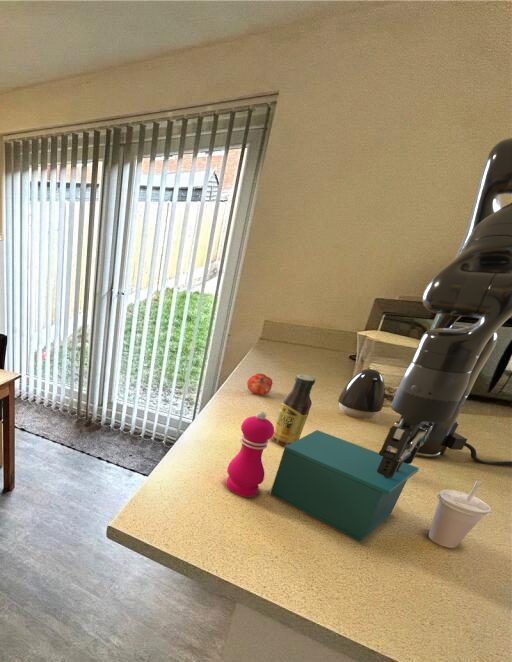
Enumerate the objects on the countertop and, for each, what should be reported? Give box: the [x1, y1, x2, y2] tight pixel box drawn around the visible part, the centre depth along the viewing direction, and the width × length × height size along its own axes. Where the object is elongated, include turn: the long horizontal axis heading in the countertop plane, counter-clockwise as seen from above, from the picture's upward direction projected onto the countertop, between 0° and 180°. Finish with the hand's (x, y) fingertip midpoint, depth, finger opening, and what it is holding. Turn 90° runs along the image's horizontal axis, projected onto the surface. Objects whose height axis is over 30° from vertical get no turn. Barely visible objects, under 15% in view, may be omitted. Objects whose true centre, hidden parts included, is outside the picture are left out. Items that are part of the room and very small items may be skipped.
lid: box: [283, 429, 420, 495], centre depth 79 cm, size 17×14×6 cm
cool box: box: [270, 449, 408, 542], centre depth 83 cm, size 17×14×12 cm
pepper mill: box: [225, 411, 274, 498], centre depth 87 cm, size 7×7×20 cm
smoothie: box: [428, 480, 491, 549], centre depth 73 cm, size 6×6×14 cm
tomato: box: [246, 372, 273, 396], centre depth 137 cm, size 7×7×10 cm
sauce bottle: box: [270, 373, 317, 447], centre depth 104 cm, size 6×6×20 cm
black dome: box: [337, 368, 386, 420], centre depth 119 cm, size 10×10×15 cm
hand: (394, 468), depth 74 cm, fingers open, 8 cm apart
